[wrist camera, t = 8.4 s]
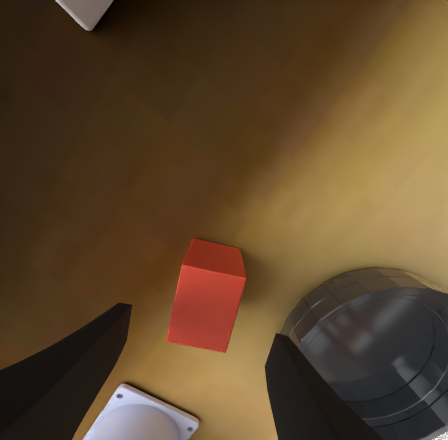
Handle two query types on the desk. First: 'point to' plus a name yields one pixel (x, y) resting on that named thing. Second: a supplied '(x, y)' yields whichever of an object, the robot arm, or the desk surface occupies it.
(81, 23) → the white box
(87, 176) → the desk surface
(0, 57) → the desk surface
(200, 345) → the red block
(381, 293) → the bowl
